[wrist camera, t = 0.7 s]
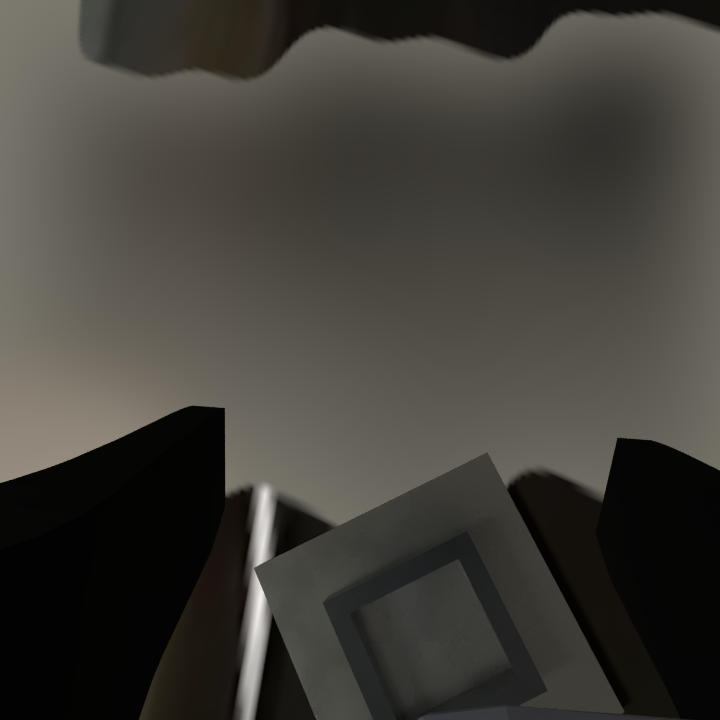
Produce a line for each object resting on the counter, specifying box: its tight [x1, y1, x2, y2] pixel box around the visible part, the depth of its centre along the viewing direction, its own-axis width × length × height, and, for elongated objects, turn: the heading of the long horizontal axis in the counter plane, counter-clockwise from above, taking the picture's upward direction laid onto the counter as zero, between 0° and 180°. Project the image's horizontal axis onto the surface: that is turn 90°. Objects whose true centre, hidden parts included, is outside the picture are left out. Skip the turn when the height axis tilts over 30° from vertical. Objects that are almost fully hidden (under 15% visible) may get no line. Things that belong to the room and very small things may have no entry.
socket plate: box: [254, 453, 624, 720], centre depth 31 cm, size 14×14×3 cm
